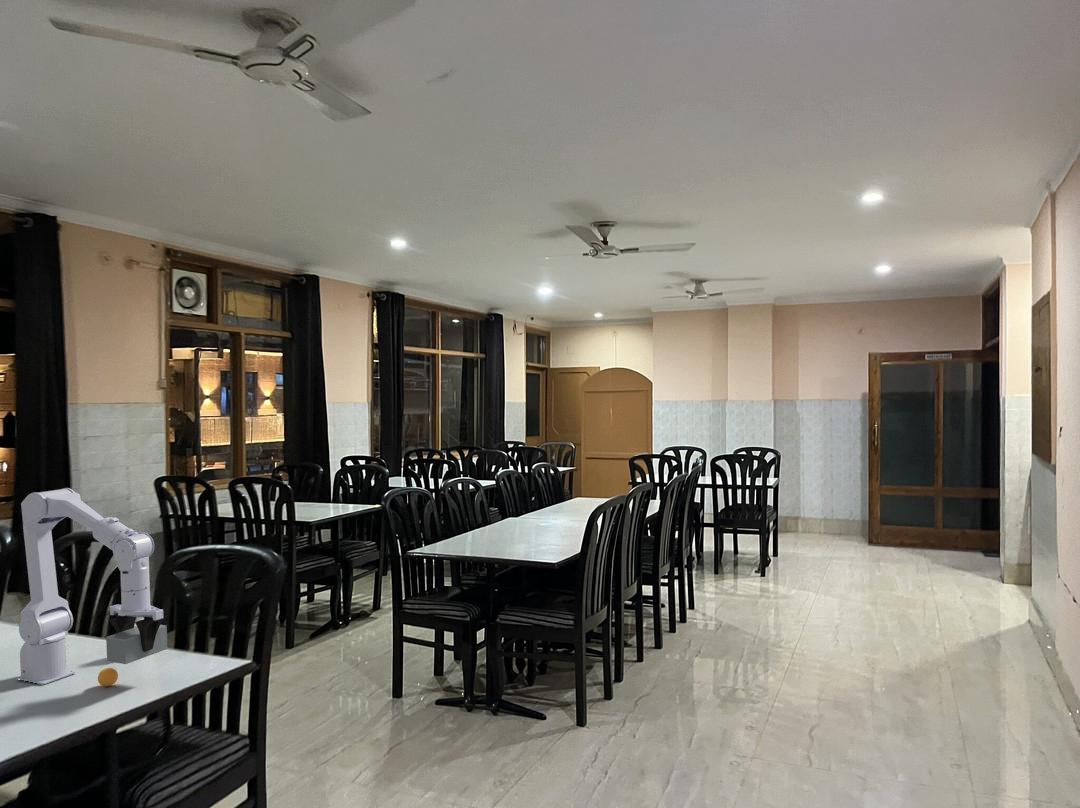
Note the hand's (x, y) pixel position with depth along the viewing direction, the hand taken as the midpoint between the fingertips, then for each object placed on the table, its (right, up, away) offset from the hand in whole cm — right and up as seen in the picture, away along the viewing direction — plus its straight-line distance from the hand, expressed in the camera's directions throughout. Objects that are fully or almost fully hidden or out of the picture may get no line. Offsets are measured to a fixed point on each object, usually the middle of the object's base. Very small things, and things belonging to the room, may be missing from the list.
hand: (137, 648), depth 173 cm
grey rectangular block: (0, -1, 0) cm, 1 cm away
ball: (-7, -7, 0) cm, 10 cm away
